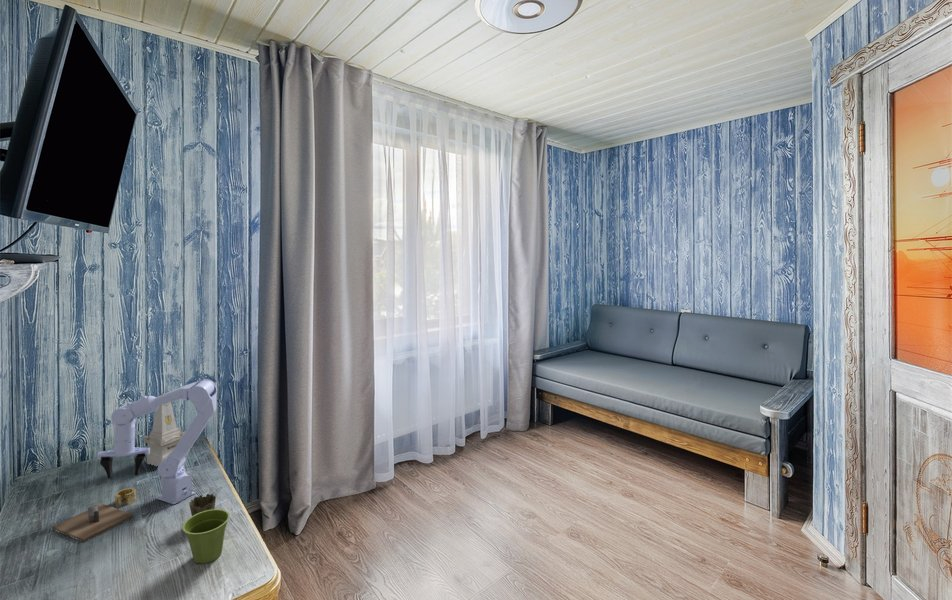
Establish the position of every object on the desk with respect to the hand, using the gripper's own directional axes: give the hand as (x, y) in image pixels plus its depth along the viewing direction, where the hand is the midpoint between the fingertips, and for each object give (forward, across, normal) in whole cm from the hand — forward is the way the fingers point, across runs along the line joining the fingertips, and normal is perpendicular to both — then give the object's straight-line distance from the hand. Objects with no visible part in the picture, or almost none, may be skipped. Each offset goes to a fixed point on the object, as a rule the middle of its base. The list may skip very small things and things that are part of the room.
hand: (123, 475), depth 156 cm
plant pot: (+7, -30, +45) cm, 54 cm away
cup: (+8, -27, +25) cm, 38 cm away
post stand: (+10, +5, +12) cm, 16 cm away
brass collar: (+10, -1, +1) cm, 10 cm away
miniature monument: (+10, -8, -30) cm, 32 cm away
